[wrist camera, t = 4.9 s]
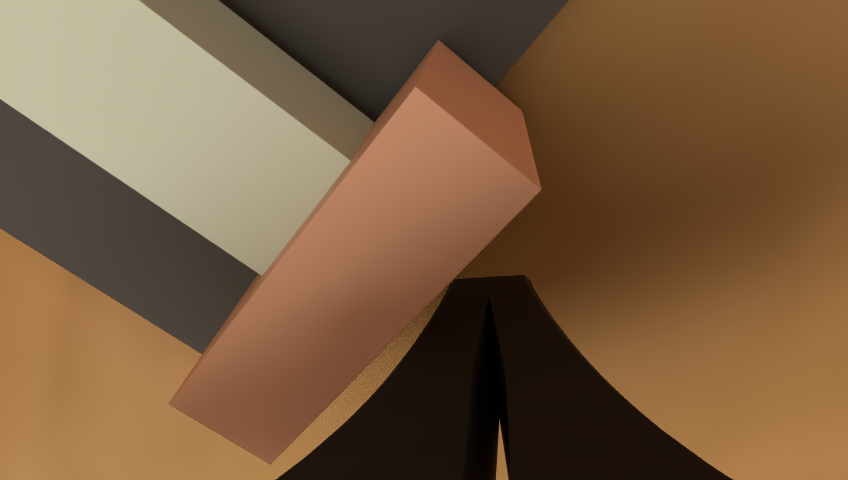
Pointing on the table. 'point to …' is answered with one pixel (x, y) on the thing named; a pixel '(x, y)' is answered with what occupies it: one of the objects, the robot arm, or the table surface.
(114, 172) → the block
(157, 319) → the pit
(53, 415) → the table surface
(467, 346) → the robot arm
